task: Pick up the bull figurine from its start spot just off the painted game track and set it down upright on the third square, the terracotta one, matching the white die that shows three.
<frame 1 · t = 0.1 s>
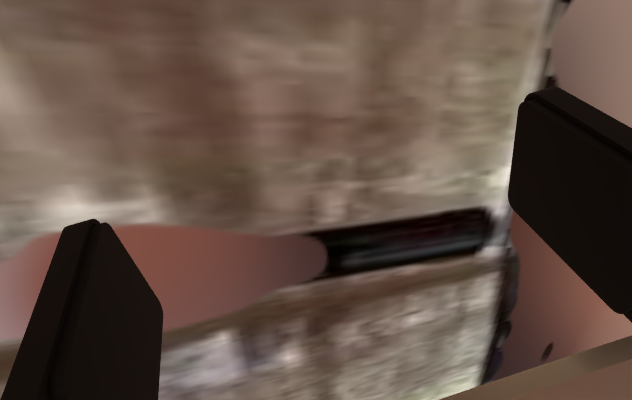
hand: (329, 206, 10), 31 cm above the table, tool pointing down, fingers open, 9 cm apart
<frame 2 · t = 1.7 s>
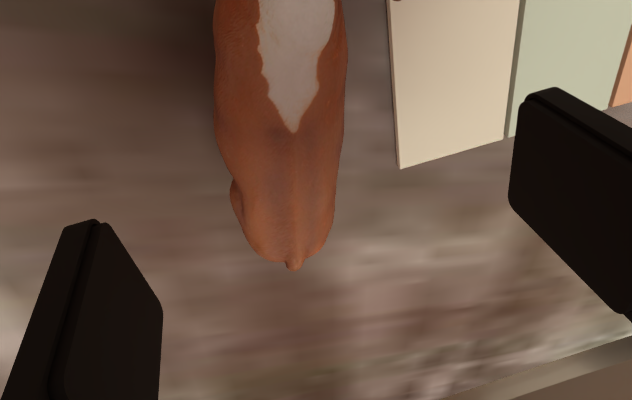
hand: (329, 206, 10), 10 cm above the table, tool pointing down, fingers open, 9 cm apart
bull figurine: (262, 36, 17), on the table
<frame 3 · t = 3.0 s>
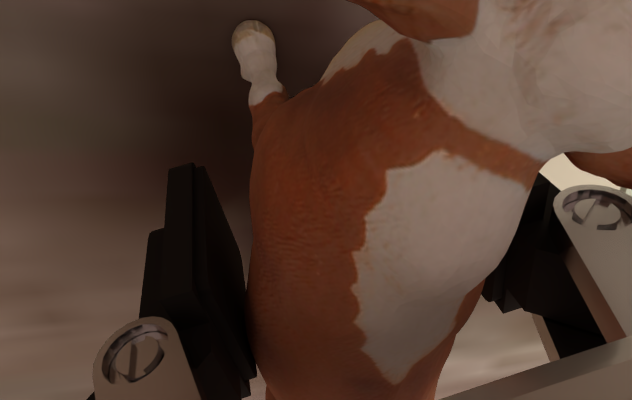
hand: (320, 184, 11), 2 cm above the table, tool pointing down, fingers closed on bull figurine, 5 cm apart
bull figurine: (302, 141, 12), on the table, touching gripper
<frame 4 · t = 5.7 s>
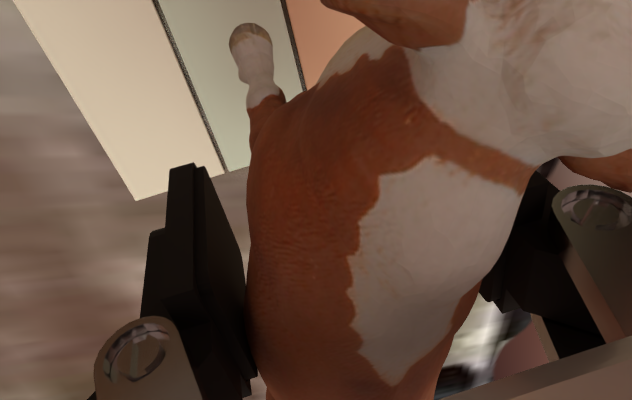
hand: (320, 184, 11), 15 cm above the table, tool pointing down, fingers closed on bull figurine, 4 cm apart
game board: (230, 29, 23), on the table
bull figurine: (301, 142, 12), point 13 cm above the table, touching gripper
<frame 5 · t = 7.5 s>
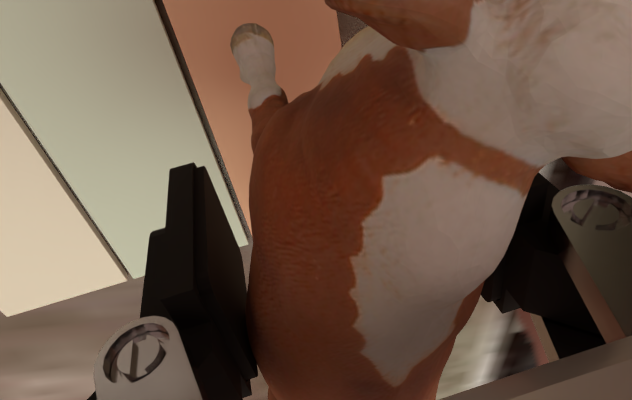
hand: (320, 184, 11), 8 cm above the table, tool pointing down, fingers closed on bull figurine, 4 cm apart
game board: (115, 110, 16), on the table
bull figurine: (303, 142, 12), point 6 cm above the table, touching gripper
when the fingers open (4 cm above the table, at t = 8.7 s): bull figurine drops 1 cm, resting on game board.
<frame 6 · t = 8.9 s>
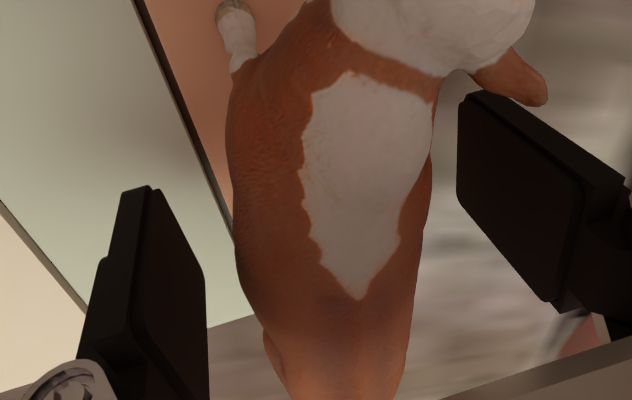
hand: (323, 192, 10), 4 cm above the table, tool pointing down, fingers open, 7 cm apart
game board: (102, 169, 13), on the table
bull figurine: (290, 110, 13), resting on game board
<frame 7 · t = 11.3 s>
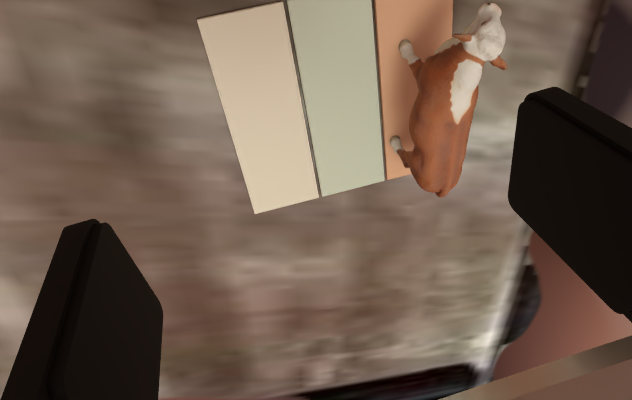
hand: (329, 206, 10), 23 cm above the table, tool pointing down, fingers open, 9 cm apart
game board: (341, 102, 34), on the table
bull figurine: (415, 81, 34), resting on game board
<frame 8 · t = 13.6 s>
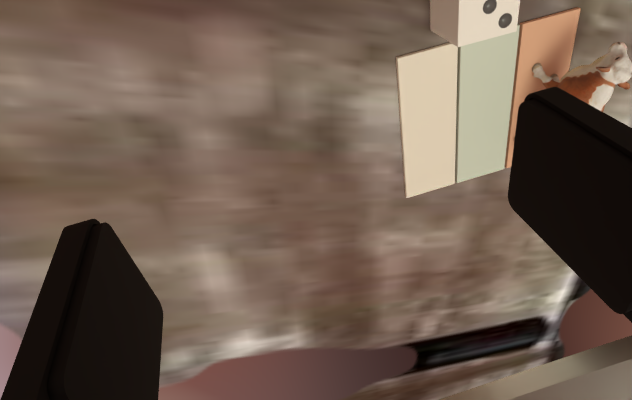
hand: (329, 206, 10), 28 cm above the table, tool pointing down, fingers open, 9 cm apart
game board: (482, 110, 44), on the table
bull figurine: (538, 93, 44), resting on game board
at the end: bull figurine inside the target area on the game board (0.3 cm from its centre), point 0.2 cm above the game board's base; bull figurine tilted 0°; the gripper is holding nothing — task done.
